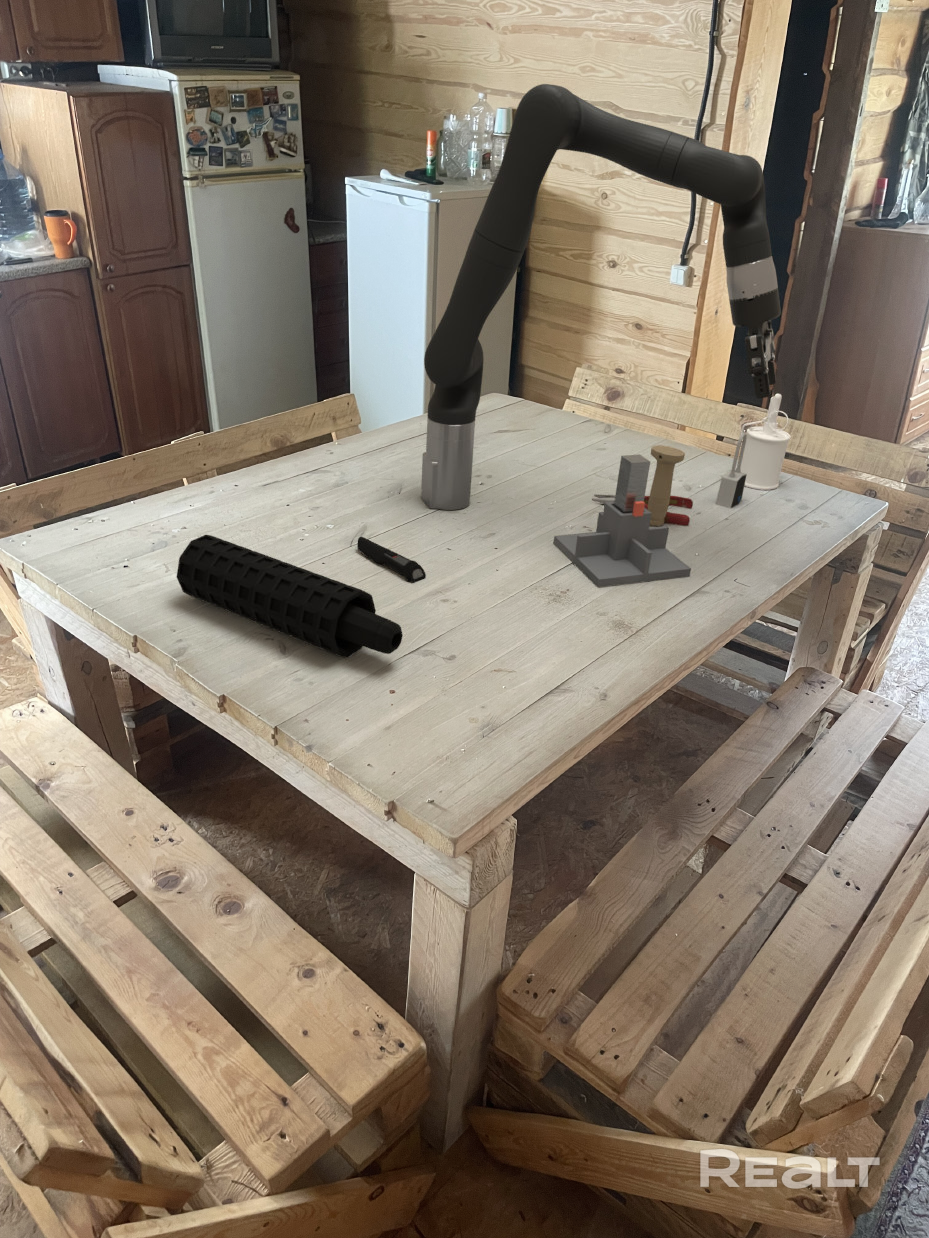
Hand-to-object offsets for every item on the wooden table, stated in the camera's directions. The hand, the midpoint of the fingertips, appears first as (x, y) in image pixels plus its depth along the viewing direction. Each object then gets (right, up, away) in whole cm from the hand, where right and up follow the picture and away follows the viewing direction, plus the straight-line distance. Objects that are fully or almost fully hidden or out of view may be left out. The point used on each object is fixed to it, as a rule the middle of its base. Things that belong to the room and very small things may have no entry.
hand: (766, 391), depth 150 cm
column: (-22, -25, +11) cm, 36 cm away
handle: (-13, -19, +28) cm, 36 cm away
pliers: (-13, -16, +36) cm, 41 cm away
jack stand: (-22, -27, +12) cm, 37 cm away
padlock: (+6, -13, +41) cm, 43 cm away
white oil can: (+15, -7, +52) cm, 55 cm away
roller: (-76, -40, -15) cm, 87 cm away
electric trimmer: (-63, -29, +5) cm, 70 cm away
